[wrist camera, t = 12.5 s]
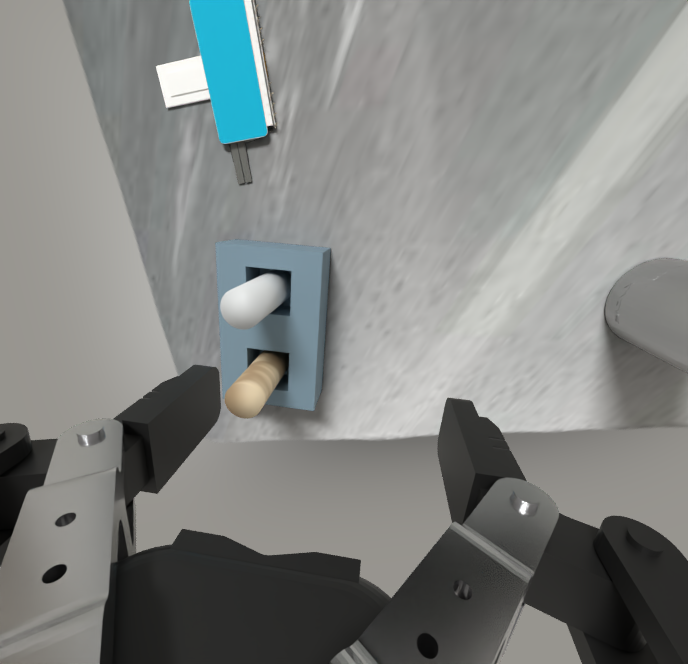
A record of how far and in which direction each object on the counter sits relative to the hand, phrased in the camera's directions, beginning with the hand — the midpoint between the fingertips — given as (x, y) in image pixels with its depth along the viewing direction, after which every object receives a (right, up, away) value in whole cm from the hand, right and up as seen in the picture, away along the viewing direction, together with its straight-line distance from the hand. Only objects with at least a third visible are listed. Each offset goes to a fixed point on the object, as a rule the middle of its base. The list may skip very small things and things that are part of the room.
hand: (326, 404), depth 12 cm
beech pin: (-8, 0, +30) cm, 31 cm away
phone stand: (-12, +28, +23) cm, 38 cm away
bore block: (-7, +4, +29) cm, 31 cm away
